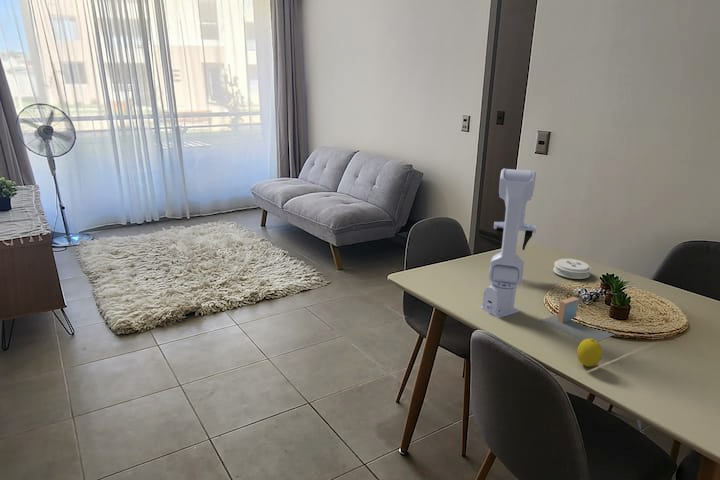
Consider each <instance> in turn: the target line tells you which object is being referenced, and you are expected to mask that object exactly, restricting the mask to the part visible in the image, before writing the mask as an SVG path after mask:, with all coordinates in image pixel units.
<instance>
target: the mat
mask: <svg viewBox="0 0 720 480" xmlns="http://www.w3.org/2000/svg"><path fill="white" fill-rule="evenodd" d="M557 318H558V314H555V315H551V316H549V317H546V318H542V319H541V321H542V322H544V323H546V324H548V325H550V326H551V327H553V328H555V329H557V330H559V331H561V332H563V333H564V334H566V335H568V336H570V337H572V338H574V339H577V340H578V341H580V342H582V341H583V340H585V339H591V338H592V339H594V340H596V341H597V342H598V343H599V342H600V341H602V340H605V339H607V338H609V337H612V336H614V335H616V333H614V334H612V333H613V332H612V333H608V332H605V331H602V330H598V329H594V328H590V327H586V326H583V325H580V324H578V323H576V322H573V321H572V320H570V321H567V322H564V323H561V322H559V321H557Z"/></svg>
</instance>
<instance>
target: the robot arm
mask: <svg viewBox="0 0 720 480" xmlns="http://www.w3.org/2000/svg"><path fill="white" fill-rule="evenodd" d="M536 177H537V172H536V170H535V169H533V170H529V169H528V170H526V169H513V168H512V169H511V168H505V167H504V168H503V169H501V171H500V175H499V186H498V194H499V196H498V197H499V198H500V199H502V200H503V201H504V204H505V213H504V221H494V222H493V229H494V230H495V231H496V235H497V237H498V240H499V243H500V248H501V249H500V252H498V253H495V254H494V255H493V256H492V257H491V258H490V265H489V268H488V269H489V270H488V280H489V282H491V284H490V285H489V286H487V287H486V288H485V289H484V291H483V298H482V305H481V306H480V309H482V310H483V311H485V312H487V313H489V314H491V315H492V316H494V317H495V318H498V319H499V318H500V319H501V318H503V317H505V316H510V315H513V314H516V313H519V312H520V311H521V310H520V309H518V308H517V307H515V304H516V295H517V288H518V286H521V285H522V282H523V276H524V264H525V261H524V260H523V259H522V257H520V255H518V254H517V246H518V237H519V231H520V232H524V237H523V238H524V239H523V243H522V249H521V250H522V251H525V249H526V246H527V244H528V242H529V241H530V239H531V238H532V236H533V234H536V233H537V225H532V224H528V223H525V215H526V207H527V203H528V201H529V202H530V201H531V200H532V197H533V194H534V191H535V186H536Z"/></svg>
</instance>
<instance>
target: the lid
mask: <svg viewBox="0 0 720 480" xmlns="http://www.w3.org/2000/svg"><path fill="white" fill-rule="evenodd" d="M553 265H554V267H553V269H552V271H553V272H554V273H555V274H556V275H559V276H561V277H564V278H567V279H572V280H573V279H574V280H576V279H577V280H582V279H587V278H589V277H591V273H590V272H591V266H590V265H589V264H588V263H587V262H584V261H583V260H578V259H575V258H559V259H558V260H555V261H554V262H553Z"/></svg>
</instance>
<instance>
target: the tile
mask: <svg viewBox="0 0 720 480" xmlns="http://www.w3.org/2000/svg"><path fill="white" fill-rule="evenodd" d="M579 302H580V299H579V298H577V297H575V296H572V297H569V298H564V299H561V300H560V301H559V307H558V308H559V309H558V312H557V313H558V318H557V321H559V322H561V323H564V322H567V321H570V320H571V319H573V318H574V317H576V315H577V312H578V306H579Z"/></svg>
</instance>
